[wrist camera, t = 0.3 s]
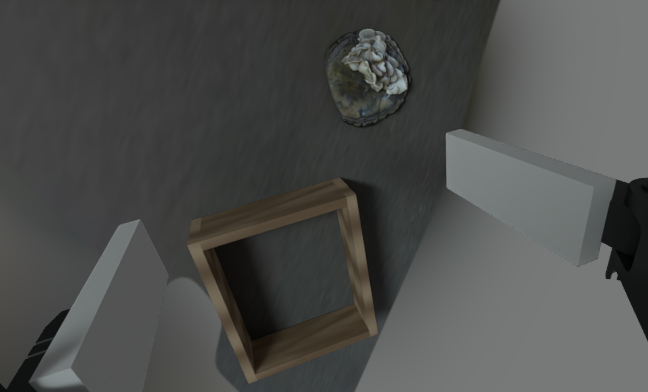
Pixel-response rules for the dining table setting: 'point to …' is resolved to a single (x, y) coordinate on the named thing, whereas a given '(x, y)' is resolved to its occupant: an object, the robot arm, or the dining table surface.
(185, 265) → the dining table surface
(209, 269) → the wooden serving tray
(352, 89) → the crumpled grey lump
